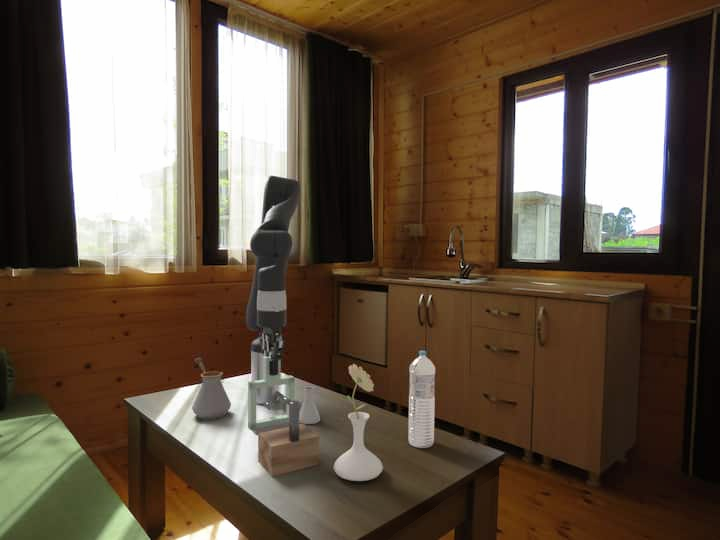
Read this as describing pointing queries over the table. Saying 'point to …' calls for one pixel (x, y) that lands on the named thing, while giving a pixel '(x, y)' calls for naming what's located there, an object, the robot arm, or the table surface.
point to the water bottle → (421, 402)
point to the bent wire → (292, 414)
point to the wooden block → (287, 450)
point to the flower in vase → (358, 439)
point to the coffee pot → (211, 396)
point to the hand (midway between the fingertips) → (271, 373)
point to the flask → (308, 408)
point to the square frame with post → (268, 381)
